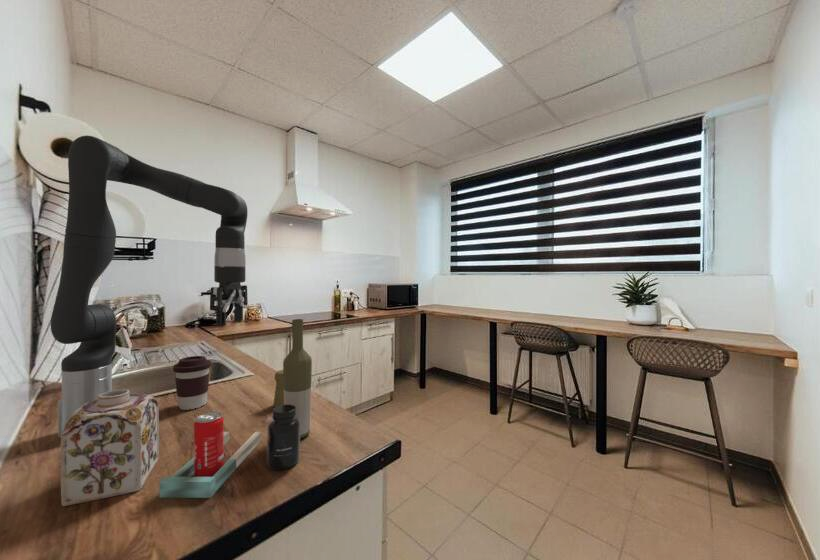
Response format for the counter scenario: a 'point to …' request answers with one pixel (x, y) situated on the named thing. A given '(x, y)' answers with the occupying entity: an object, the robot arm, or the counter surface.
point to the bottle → (298, 378)
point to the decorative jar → (109, 446)
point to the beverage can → (208, 444)
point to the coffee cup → (192, 381)
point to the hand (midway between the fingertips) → (230, 323)
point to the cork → (279, 389)
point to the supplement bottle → (283, 438)
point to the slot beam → (204, 486)
